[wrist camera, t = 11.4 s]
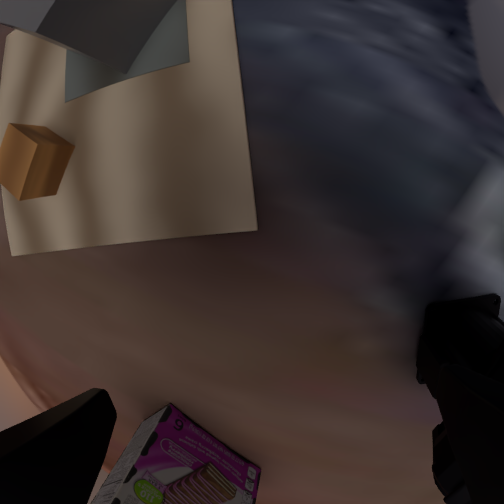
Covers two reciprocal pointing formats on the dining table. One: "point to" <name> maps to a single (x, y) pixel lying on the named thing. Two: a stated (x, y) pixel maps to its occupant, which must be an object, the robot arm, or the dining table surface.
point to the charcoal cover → (89, 25)
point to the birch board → (135, 136)
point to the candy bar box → (178, 467)
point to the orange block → (33, 161)
